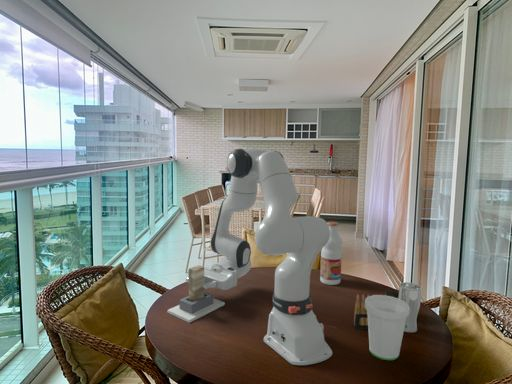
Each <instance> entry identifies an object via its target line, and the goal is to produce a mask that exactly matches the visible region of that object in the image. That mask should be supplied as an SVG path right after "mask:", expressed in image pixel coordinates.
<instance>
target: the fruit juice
mask: <svg viewBox="0 0 512 384" xmlns="http://www.w3.org/2000/svg"><path fill="white" fill-rule="evenodd" d="M326 223H327V224H328V226H329V230H330V238H329V241H328V243H327V244H326V245H325V246H324V247H323V248H322V249H321V250H320V273H319V280H320V282H321V283H322V284H323V285H329V286H335V285H340V283H341V279H342V261H343V260H342V259H343V258H342V257H343V252H342V245H343V240H342V237H341V236H340V234H339V231H338V226H339V222H336V221H326Z"/></svg>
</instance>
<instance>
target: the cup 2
mask: <svg viewBox="0 0 512 384" xmlns="http://www.w3.org/2000/svg"><path fill="white" fill-rule="evenodd" d="M365 308H366V310H367V316H368V329H367V330H368V331H367V332H368V344H369V346H368V347H369V348H368V350H369V352H370V353H371V355H372V356H373V357H376V358H378V359H380V360H385V361H394V360H396V359H398V358H399V357H400V352H401V347H402V341H403V336H404V332H405V331H404V327H405V322H406V317H407V316H408V315H409V311H410V308H409V305H408V304H407V303H406V302H404V301H402V300H400V299H398V298H395V297H391V296H386V295H385V294H374V295H369V297H367V296H366V297H365Z"/></svg>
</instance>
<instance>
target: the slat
mask: <svg viewBox="0 0 512 384" xmlns="http://www.w3.org/2000/svg"><path fill="white" fill-rule="evenodd" d="M204 267H205V266H202V265H195V266H193V267H189V268H188V271H189V283H188V296H189V301H190V302H195V301H197V300H199V299H201V298H203V297H204V292H205V289H204V288H203V284H204Z"/></svg>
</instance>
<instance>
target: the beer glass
mask: <svg viewBox="0 0 512 384" xmlns="http://www.w3.org/2000/svg"><path fill="white" fill-rule="evenodd" d="M398 291H399V294H398V299H400V300H402V301H404V302H406V303H407V304H408V305H409V308H410V311H409V315H408V316H407V317H406V322H405V327H404V332H406V333H412V334H414V333H416V332H417V331H418V326H417V320H418V319H417V318H418V314H419V311H420V307H421V301H422V287H421V286H420V285H418V284H416V283H413V282H407V281H406V282H401V283H399V288H398Z"/></svg>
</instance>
